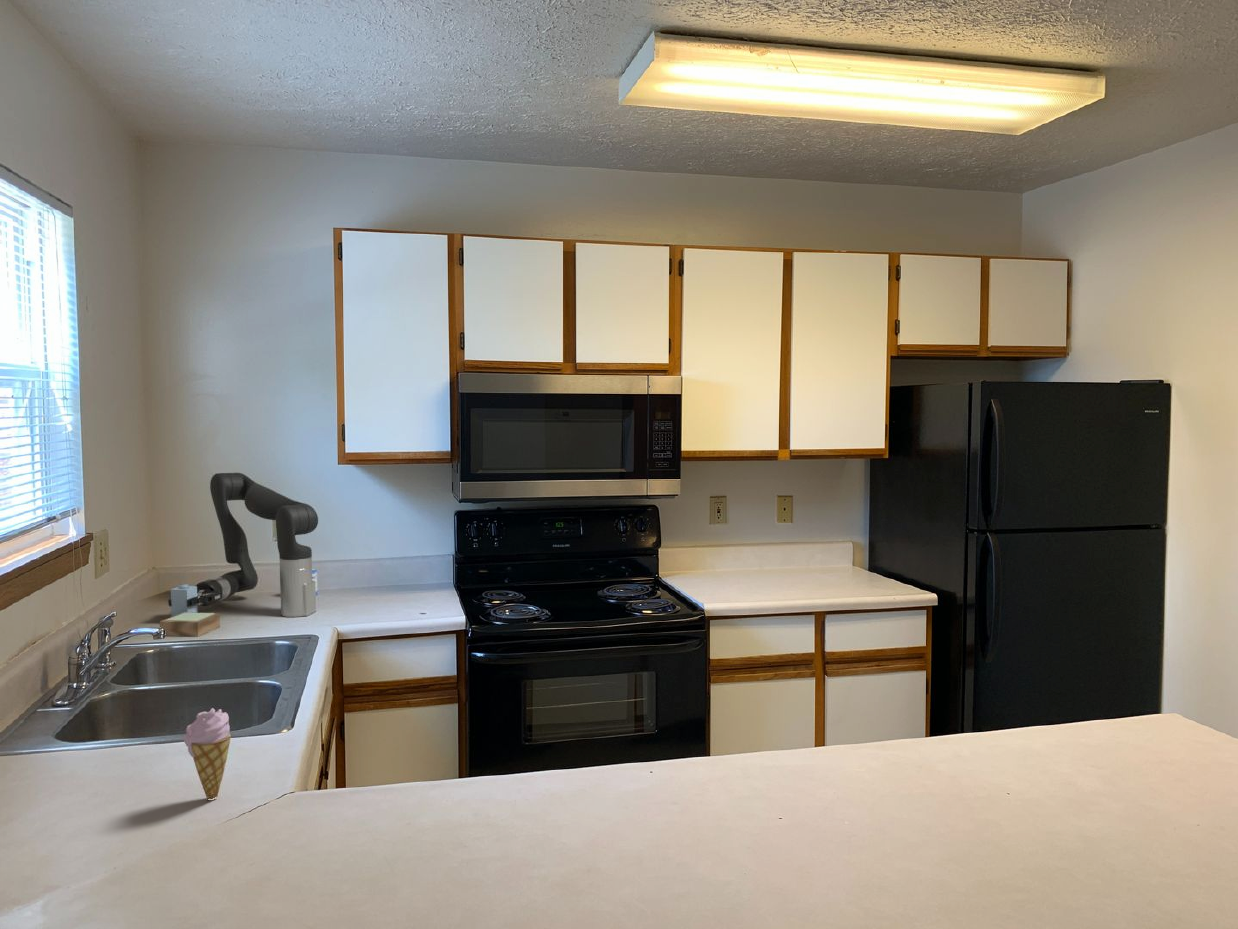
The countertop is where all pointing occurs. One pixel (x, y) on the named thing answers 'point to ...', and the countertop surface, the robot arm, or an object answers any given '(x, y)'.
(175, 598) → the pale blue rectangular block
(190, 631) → the walnut base block
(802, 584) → the countertop surface
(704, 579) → the countertop surface
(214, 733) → the ice cream cone
